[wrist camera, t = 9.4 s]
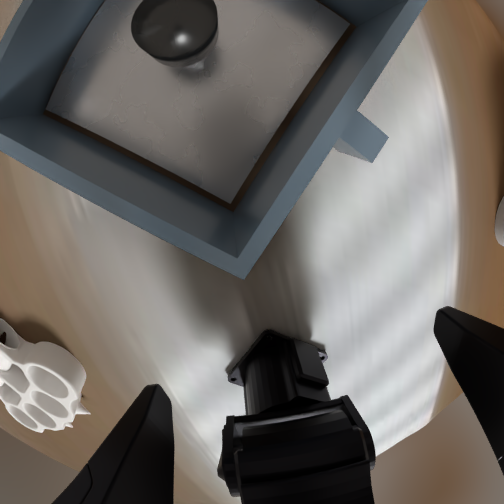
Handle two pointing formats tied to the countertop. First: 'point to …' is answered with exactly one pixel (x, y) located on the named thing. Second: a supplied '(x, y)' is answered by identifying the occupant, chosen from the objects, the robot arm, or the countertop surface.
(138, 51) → the lid with knob
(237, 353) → the countertop surface
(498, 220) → the cup
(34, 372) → the white muffin tray
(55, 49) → the blue grey open box
